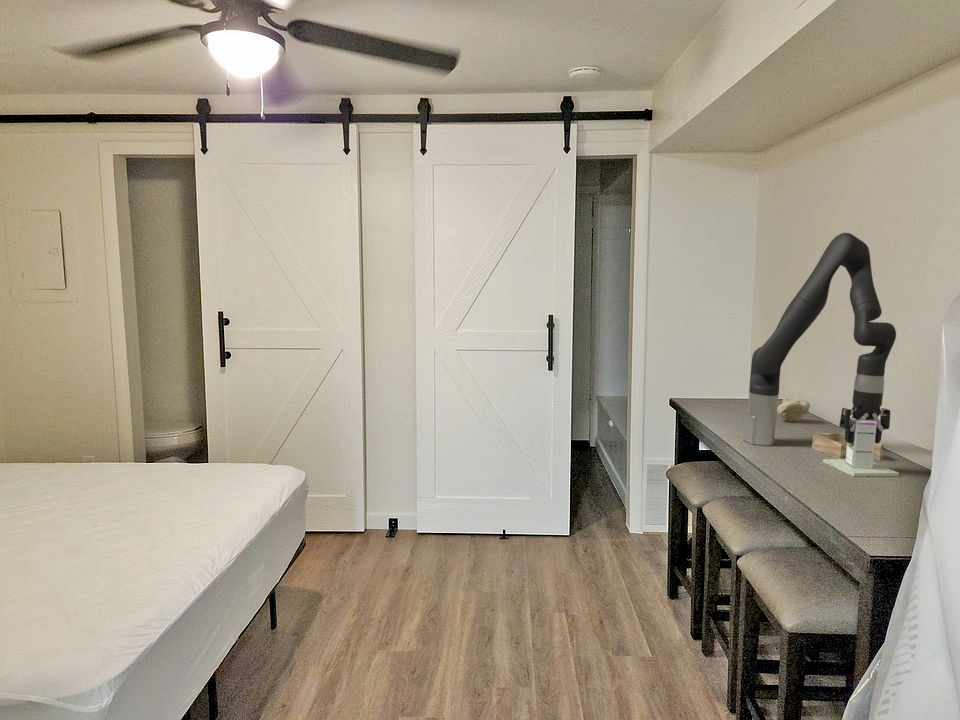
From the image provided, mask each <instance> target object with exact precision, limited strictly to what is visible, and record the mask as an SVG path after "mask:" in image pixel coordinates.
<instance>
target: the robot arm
mask: <svg viewBox="0 0 960 720" xmlns="http://www.w3.org/2000/svg"><path fill="white" fill-rule="evenodd" d="M871 262H872V261H871V253H870V249H869V246H868V245H867V243H865V242H864V241H863V240H861V239H859V238H858V237H856V236H855V235H854V234H852V233H850V232H842V233H839V234H838V235H836V236H835V237H834V238H833V239H832V240H830V242H829V243H828V246H827V247H826V248H825V250H824V252H823V253H822V254H821V256H820V258H819V261H818V262H817V264H816V266H815V267H814V269H813V270H812V272H811V274H810V275H809V276H808V277H807V279H806V281H805V282H804V283H803V285H802V286H801V288H800V289H799V290H798V292H797V293H796V295H795V296H794V297H793V299H792V300H791V301H790V303H789V304H788V305H787V308H786V309H785V310H784V312H783V314H782V316H781V318H780V320H779V321H778V324H777V326H776V327H775V329H774V331H773V332H772V334H771V335H770V337H769V338H768V339H767V340H766V341H765V343H763V344H762V346H759V347H758V348H756V349H755V350H754V352H753V353H752V356H751V363H750V365H751V367H750V378H749V388H748V389H749V391H748V401H747V412H746V413H744V420H743V432H742V440H743V441H744V442H746V443H747V444H750V445H757V446H774V445H775V439H776V438H775V437H776V436H775V435H776V427H777V418H778V417H777V415H778V413H777V408H778V406H779V395H780V394H779V393H780V383H781V382H780V381H781V380H780V379H781V369H782V364H783V363H784V362H785V359H787V356H788V355H789V353H790V351H791V350H792V348H793V346H794V345H795V344H796V342H797V341H798V340H799V339H800V338H801V337H802V336H803V335H804V334H805V333H806V332H807V330H808V329H809V328H810V326H811V325H812V324H813V323H814V321H815V320H816V319H817V318H818V317H819V315H820V314H821V312H822V311H823V310H824V308H825V306H826V304H827V302H828V296H829V292H830V286H831V282H832V279H833V277H834V275H835V274H836V272H837V271H838V269H839V268H840V266H842V267H843V268H845V270H846V271H847V273H848V275H849V277H850V281H851V286H850V291H849V300H850V305H851V307H852V311H853V315H854V322H853V323H854V324H853V325H854V327H853V339H854V341H855V342H856V344H858V345H860V346H862V347H863V346H864V347H874V349H873V350H872V351H871V352H869V353H868V352H867V353H863V354H861V355H859V356H858V357H857V365H856V374H855V378H854V384H853V394H852V407H851V408H850V409H849V408H846V407H843V408H841V413H840V420H839V425H838V426H839V428H842V429H844V430H845V432H844V433H845V440H846V442H847V443H853V436H854V429H855V426H856V422H855V421H853V420H852V419H854V418H855V419H857V420H858V421H860V420H874V421H876V422H877V425H876V435H875V443H881V440H882V434H883V433H882V432H883V431H884V430H889V429H890V426H891V425H890V424H891V410H890V409H888V408H884V407H882V406H883V397H884V389H885V388H884V387H885V371H886V363H887V360H888V358H889V355H890V353H891V350H892V348H893V347H894V344H895V341H896V339H897V329H896V328H895V326H894V325H893V324H892V323H890V322H881V321H880V322H878V321H876V322H874V321H875V320H877V319H879V318H880V317H881V315H882V313H883V312H882V308H881V304H880V300H879V298H878V294H877V292H876V287H875V285H874V279H873V274H872V263H871ZM881 407H882V408H881ZM879 416H880V419H879ZM850 417H851V418H850Z"/></svg>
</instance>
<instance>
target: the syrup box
mask: <svg viewBox="0 0 960 720" xmlns="http://www.w3.org/2000/svg"><path fill="white" fill-rule="evenodd" d="M851 417H852V416H850V418H851ZM852 420H853V421H855V422H856V426H855V429H854V436H853V443H847V447H846V448H845V449H846V450H845V458H844V459H845V462H846V463H847V464H849V465H850V466H852V467H854V468H868V469H872V467H873V462H874V458H873V457H874V447H875V435H876V425H877V422H876V421H874V420H860V421H858V420H857V419H855V418H854V419H852Z"/></svg>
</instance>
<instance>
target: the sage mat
mask: <svg viewBox="0 0 960 720" xmlns="http://www.w3.org/2000/svg"><path fill="white" fill-rule="evenodd" d="M822 462H823V463H824V464H826V465H828V464H829V466H830V465H831V467H832V466H833V467H832V468H834V467H835V468H834V469H836V468H837V470H839V471H841V472H843V473H845V474H848V475H849V474H850V475H849V476H851V475H852V476H851V477H853V476H856V477H855V478H857V477H859V478H861V477H868V476H870V477H899V474H900V473H899V472H898V471H895V470H892V469H891V468H888V467H885V466H883V465H881V464H878V463H876V462H874V461H873V467H872V469H868V468H854V467H852V466H850V465H849V464H847V463H846V462H845V458H843V459H836V458H824V459H823V461H822Z"/></svg>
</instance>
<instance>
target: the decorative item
mask: <svg viewBox="0 0 960 720" xmlns="http://www.w3.org/2000/svg"><path fill="white" fill-rule="evenodd" d="M810 407H811V405H810V402H809V401H807V400H806V399H804V398H802V397H793V398H783V400H782V402H781V404H778V406H777V415H778V416H779V417H781V419H782V420H784V421H785V422H788V423H792V422H795V421H797V420H801V419H802V418H803V417H804V416H805V415H807V414H809V410H810Z"/></svg>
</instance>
